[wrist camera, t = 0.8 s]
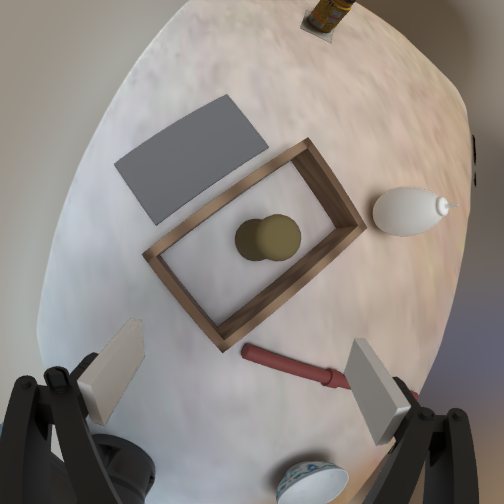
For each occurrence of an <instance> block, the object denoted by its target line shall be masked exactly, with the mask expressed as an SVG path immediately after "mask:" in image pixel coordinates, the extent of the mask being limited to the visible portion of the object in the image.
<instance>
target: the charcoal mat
mask: <svg viewBox="0 0 504 504" xmlns="http://www.w3.org/2000/svg"><path fill="white" fill-rule="evenodd" d="M268 148H269V146H268V145H267V144H266V142H265V141H264V140H263V138H262V137H261V136H260V134H259V133H258V132H257V131H256V129H255V128H254V127H253V125H252V124H251V123H250V122H249V120H248V119H247V118H246V117H245V115H244V114H243V113H242V112H241V110H240V109H239V108H238V107H237V106H236V104H235V103H234V102H233V101H232V99H231V98H230V97H229V96H228V95H227V94H226V95H224V96H222V97H220V98H218V99H216V100H214V101H212V102H210V103H208V104H207V105H205V106H203V107H201V108H199V109H197V110H196V111H194V112H192V113H190V114H189V115H187V116H185V117H183V118H182V119H180V120H178V121H177V122H175V123H173V124H172V125H170V126H168V127H167V128H165V129H164V130H162V131H161V132H159V133H157V134H156V135H154V136H153V137H151V138H150V139H148V140H147V141H145V142H144V143H142V144H141V145H139V146H138V147H137V148H135V149H134V150H132V151H131V152H129V153H128V154H127V155H125V156H124V157H123V158H121V159H120V160H118V161H117V162H116V163H114V165H115V166H116V168H117V169H118V171H119V172H120V174H121V176H122V177H123V179H124V180H125V182H126V183H127V185H128V186H129V187H130V189H131V190H132V192H133V193H134V195H135V196H136V198H137V199H138V201H139V202H140V204H141V205H142V206H143V208H144V209H145V211H146V212H147V214H148V215H149V216H150V218H151V219H152V221H153V222H154V223H155V225H158V224H159V223H160V222H162V221H163V220H164V219H166V218H167V217H168V216H170V215H171V214H172V213H174V212H175V211H176V210H178V209H179V208H180V207H182V206H183V205H184V204H186V203H187V202H189V201H190V200H191V199H193V198H194V197H196V196H197V195H198V194H200V193H201V192H203V191H204V190H205V189H207V188H208V187H210V186H211V185H213V184H214V183H215V182H217V181H218V180H220V179H221V178H223V177H224V176H226V175H227V174H229V173H230V172H232V171H233V170H235V169H236V168H238V167H239V166H241V165H242V164H244V163H245V162H247V161H249V160H250V159H252V158H253V157H255V156H256V155H258V154H260V153H261V152H263V151H264V150H266V149H268Z"/></svg>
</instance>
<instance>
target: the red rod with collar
mask: <svg viewBox="0 0 504 504" xmlns="http://www.w3.org/2000/svg"><path fill="white" fill-rule="evenodd" d="M241 356H242V358H243V359H246V360H249V361H252V362H255V363H258V364H261V365H264V366H267V367H270V368H273V369H276V370H280V371H283V372H286V373H289V374H293V375H296V376H300V377H303V378H307V379H310V380H314V381H318V382H321V384H322V385H323V386H327V387H331V388H337V387H341V388H346V389H350V390H351V388H350V386H349V383H348V381H347V379H346V377H345V376H344V375H342V373H341V372H339V371H336V370H332V369H326V370H323V369H320V368H317V367H313V366H310V365H307V364H304V363H301V362H298V361H295V360H292V359H289V358H286V357H283V356H280V355H277V354H274V353H271V352H268V351H266V350H263V349H260V348H257V347H255V346H252V345H249V344H247V345H245V346H244V348H243V350H242V353H241ZM410 393H412V394H413V396H414V397H415V399H416V400H417V399H418V394H417V393H416V392H411V391H410Z"/></svg>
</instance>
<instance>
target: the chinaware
mask: <svg viewBox="0 0 504 504" xmlns="http://www.w3.org/2000/svg"><path fill="white" fill-rule="evenodd" d="M348 479H349V476H348V473H347V472H346V471H345V470H344V469H342V468H341V467H339V466H337V465H335V464H332V463H328V462H322V461H315V462H309V461H305V462H300V463H298V464H295V465H294V466H292V467H291V468H289V469H288V471H287V472H286V474H285V476H284V477H283V478H282V480H281V481H280V483H279V485H278V488H277V493H276V500H277V504H327V503H328V502H330V501H331V500H333V499H334V498H335V497H336V496H338V495H339V494H340V493H341V492H342V490H343V489H344V488H345V486H346V485H347V482H348Z"/></svg>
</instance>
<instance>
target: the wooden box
mask: <svg viewBox="0 0 504 504" xmlns="http://www.w3.org/2000/svg"><path fill="white" fill-rule="evenodd" d="M289 161H292V163H293V164H294V165H295V167H296V168H297V170H298V171H299V173H300V174H301V175H302V177H303V178H304V180H305V181H306V183H307V184H308V185H309V187H310V188H311V190H312V191H313V193H314V194H315V196H316V197H317V199H318V200H319V202H320V203H321V205H322V206H323V208H324V209H325V211H326V212H327V214H328V216H329V217H330V219H331V220H332V222H333V223H334V225H335V227H336V229H335V230H334V231H333V232H332V233H331V234H329V235H328V236H327V237H326V238H325V239H324V240H323V241H321V242H320V243H319V244H318V245H317V246H316V247H314V248H313V249H312V250H311V251H310V252H309V253H307V254H306V255H305V256H304V257H303V258H302V259H300V260H299V261H298V262H297V263H296V264H295V265H293V266H292V267H291V268H290V269H289V270H287V271H286V272H285V273H284V274H283V275H281V276H280V277H279V278H278V279H277V280H275V281H274V282H273V283H272V284H271V285H269V286H268V287H267V288H266V289H265V290H263V291H262V292H261V293H260V294H258V295H257V296H256V297H255V298H254V299H252V300H251V301H250V302H249V303H247V304H246V305H245V306H244V307H242V308H241V309H240V310H239V311H237V312H236V313H235V314H234V315H232V316H231V317H230V318H229V319H227V320H226V321H225V322H224V323H222V324H221V325H220V326H219V327H217V326H216V325H215V324H214V323H213V321H212V320H211V319H210V318H209V317H208V316H207V314H206V313H205V312H204V311H203V310H202V308H201V307H200V306H199V305H198V303H197V302H196V301H195V300H194V298H193V297H192V296H191V295H190V294H189V292H188V291H187V290H186V289H185V287H184V286H183V285H182V283H181V282H180V281H179V280H178V278H177V277H176V276H175V274H174V273H173V272H172V271H171V269H170V268H169V267H168V265H167V264H166V263H165V261H164V260H163V259H162V257H161V256H160V255H161V254H162V253H163V252H164V251H166V250H167V249H168V248H169V247H171V246H172V245H173V244H175V243H176V242H177V241H178V240H180V239H181V238H182V237H184V236H185V235H186V234H188V233H189V232H190V231H192V230H193V229H194V228H196V227H197V226H198V225H200V224H201V223H202V222H204V221H205V220H206V219H208V218H209V217H210V216H212V215H213V214H214V213H216V212H217V211H219V210H220V209H221V208H223V207H224V206H225V205H227V204H228V203H230V202H231V201H232V200H234V199H235V198H237V197H238V196H239V195H241V194H242V193H244V192H245V191H246V190H248V189H249V188H251V187H252V186H254V185H255V184H257V183H258V182H259V181H261V180H262V179H264V178H265V177H267V176H268V175H270V174H271V173H273V172H274V171H276V170H277V169H278V168H280V167H281V166H283V165H284V164H286V163H287V162H289ZM366 229H367V227H366V225H365V223H364V221H363V220H362V218H361V216H360V215H359V213H358V211H357V209H356V208H355V206H354V205H353V203H352V201H351V200H350V198H349V196H348V195H347V193H346V192H345V190H344V188H343V187H342V185H341V184H340V182H339V181H338V179H337V178H336V176H335V175H334V173H333V172H332V170H331V169H330V167H329V166H328V164H327V163H326V161H325V160H324V158H323V157H322V156H321V154H320V153H319V151H318V150H317V148H316V147H315V146H314V144H313V143H312V142H311V140H310V139H309V137H308V138H306V139H305V140H303V141H301V142H300V143H298V144H296V145H295V146H293V147H292V148H290V149H289V150H287V151H285V152H284V153H282V154H281V155H279V156H278V157H276V158H274V159H273V160H271V161H270V162H268V163H267V164H265V165H264V166H262V167H261V168H259V169H258V170H256V171H255V172H253V173H252V174H250V175H249V176H247V177H246V178H244V179H243V180H241V181H240V182H238V183H237V184H235V185H234V186H233V187H231V188H230V189H228V190H227V191H225V192H224V193H223V194H221V195H220V196H218V197H217V198H216V199H214V200H213V201H211V202H210V203H209V204H207V205H206V206H204V207H203V208H202V209H200V210H199V211H198V212H196V213H195V214H193V215H192V216H191V217H189V218H188V219H187V220H185V221H184V222H183V223H181V224H180V225H179V226H177V227H176V228H175V229H173V230H172V231H171V232H170V233H168V234H167V235H166V236H164V237H163V238H162V239H161V240H159V241H158V242H157V243H155V244H154V245H153V246H152V247H150V248H149V249H148V250H147V251H145V252H144V253H143V254H142V255H143V257H144V258H145V260H146V261H147V262H148V264H149V265H150V266H151V268H152V269H153V270H154V272H155V273H156V274H157V276H158V277H159V278H160V279H161V281H162V282H163V283H164V285H165V286H166V287H167V288H168V290H169V291H170V292H171V293H172V295H173V296H174V297H175V298H176V300H177V301H178V302H179V303H180V305H181V306H182V307H183V308H184V309H185V311H186V312H187V313H188V314H189V315H190V317H191V318H192V319H193V320H194V321H195V323H196V324H197V325H198V326H199V327H200V328H201V330H202V331H203V332H204V333H205V334H206V335H207V336H208V338H209V339H210V340H211V341H212V342H213V343H214V344H215V345H216V347H217V348H218V349H219V350H220V351H221V352H222V353H224V352H225V351H226V350H228V349H229V348H230V347H231V346H233V345H234V344H235V343H236V342H238V341H239V340H240V339H242V338H243V337H244V336H245V335H247V334H248V333H249V332H250V331H251V330H253V329H254V328H255V327H256V326H258V325H259V324H260V323H261V322H263V321H264V320H265V319H266V318H267V317H269V316H270V315H271V314H272V313H273V312H275V311H276V310H277V309H278V308H279V307H280V306H282V305H283V304H284V303H285V302H286V301H288V300H289V299H290V298H291V297H292V296H293V295H295V294H296V293H297V292H298V291H299V290H300V289H301V288H303V287H304V286H305V285H306V284H307V283H308V282H309V281H311V280H312V279H313V278H314V277H315V276H316V275H317V274H318V273H319V272H321V271H322V270H323V269H324V268H325V267H326V266H327V265H328V264H329V263H331V262H332V261H333V260H334V259H335V258H336V257H337V256H338V255H339V254H340V253H341V252H342V251H343V250H345V249H346V248H347V247H348V246H349V245H350V244H351V243H352V242H353V241H354V240H355V239H356V238H357V237H358V236H359V235H360V234H361V233H362V232H363V231H365V230H366Z"/></svg>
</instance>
